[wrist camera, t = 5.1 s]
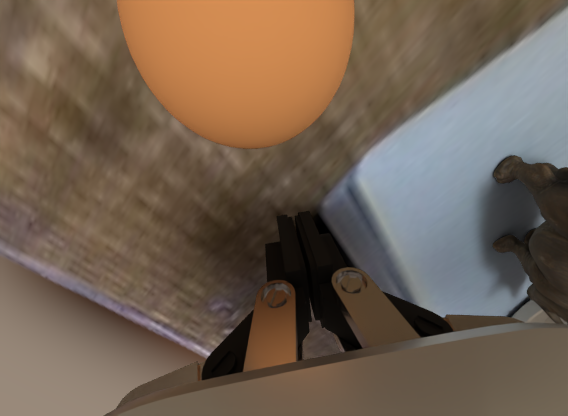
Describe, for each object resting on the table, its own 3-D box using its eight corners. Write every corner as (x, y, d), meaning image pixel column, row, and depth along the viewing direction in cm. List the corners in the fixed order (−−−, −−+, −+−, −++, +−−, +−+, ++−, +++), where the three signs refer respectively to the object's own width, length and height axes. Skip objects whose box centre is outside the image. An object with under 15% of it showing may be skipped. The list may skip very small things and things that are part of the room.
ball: (436, -300, 3) (332, 7, 9) (-14, -366, 3) (181, -6, 9) (382, 142, 4) (320, 159, 10) (42, 120, 4) (184, 151, 10)
